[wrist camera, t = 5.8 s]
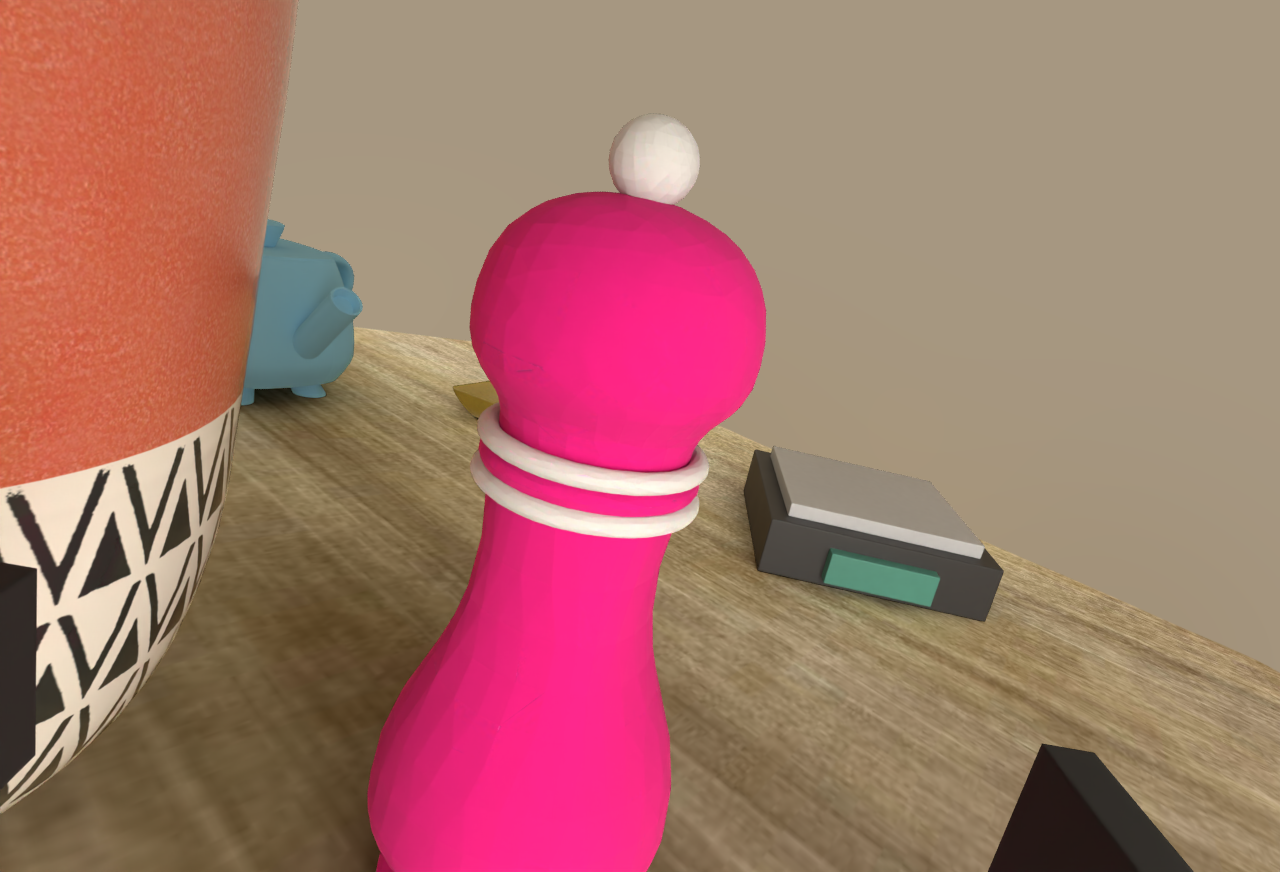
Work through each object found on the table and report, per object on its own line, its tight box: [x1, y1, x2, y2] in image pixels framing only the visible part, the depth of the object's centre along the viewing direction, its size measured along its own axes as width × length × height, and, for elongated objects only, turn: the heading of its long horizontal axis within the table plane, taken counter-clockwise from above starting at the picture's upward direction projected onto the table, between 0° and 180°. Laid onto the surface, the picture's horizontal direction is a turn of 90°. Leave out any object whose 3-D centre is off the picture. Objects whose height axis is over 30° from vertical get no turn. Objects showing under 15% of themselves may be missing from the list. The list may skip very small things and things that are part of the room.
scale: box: [744, 446, 1004, 621], centre depth 51 cm, size 14×13×4 cm
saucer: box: [453, 381, 499, 418], centre depth 62 cm, size 9×9×2 cm
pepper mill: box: [367, 114, 766, 872], centre depth 19 cm, size 7×7×20 cm
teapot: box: [241, 219, 363, 405], centre depth 56 cm, size 15×14×11 cm
